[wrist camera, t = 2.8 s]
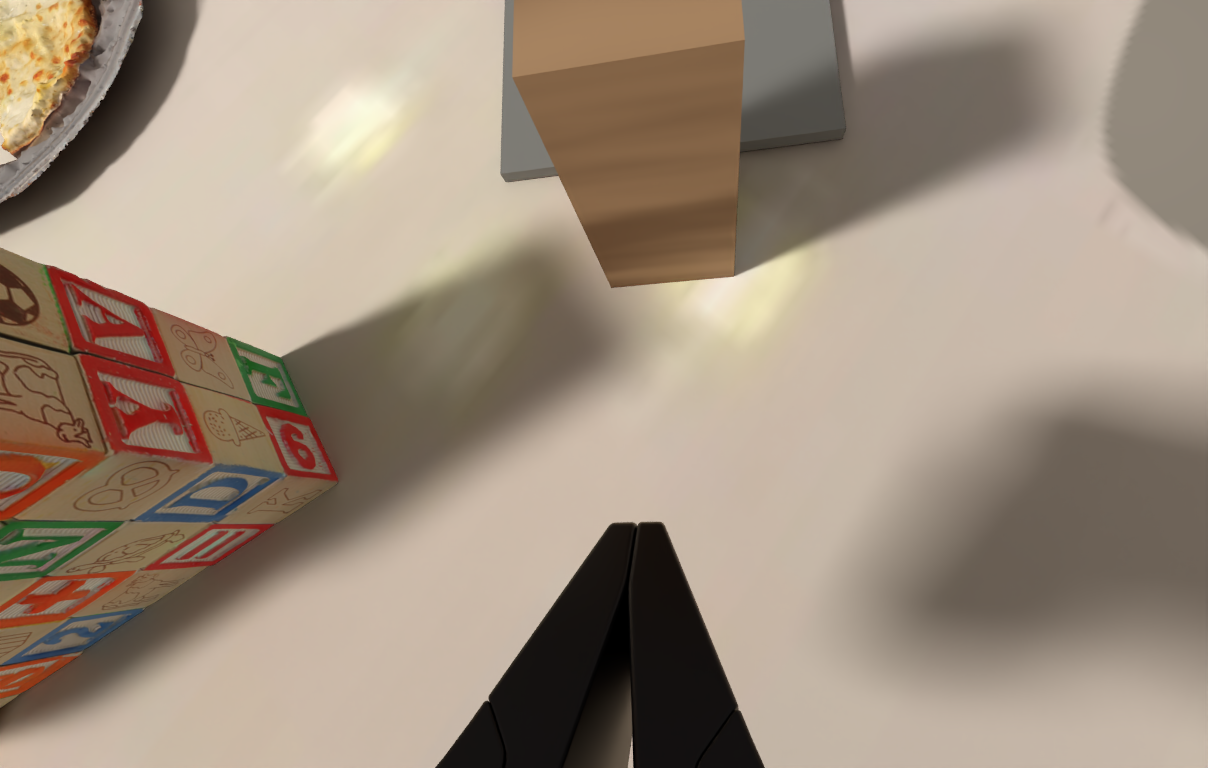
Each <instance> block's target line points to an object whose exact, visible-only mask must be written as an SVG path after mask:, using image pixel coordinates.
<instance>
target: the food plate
mask: <svg viewBox="0 0 1208 768" xmlns="http://www.w3.org/2000/svg"><path fill="white" fill-rule="evenodd" d="M142 3H143V2H142V0H0V124H1V128H0V131H1V134H2V136H3V138H4V143H3V144H2V145H1V146H2V148H3V149H4V150H7V151H8V152H10V153H11V154H12V155H13V156H14V157H16V158H17V160H14V161H12V162H8V163H6V164H2V165H0V203H1V202H3V201H4V200H7V199H8V198H11V197H12V196H16V195H17V194H18V195H19V192H22V191H23V190H25V189H26V188H28V186H29V185H30V184H32V182H33V181H34V180H36V179H37V177H40V176H41V175H42V173H43V171H45V170H46V169H47V168H49V166H50V164H49V163H50V162H51V161H53V159H55V158H56V157H58V156H59V154H58V153H59V152H60V151H62V150H63V149H65V147H64V146H65V144H66V145H68V144H67V143H68V142H69V141H72V140H73V139H74V138H75V137H76V136H75V135H78V131H79V130H81V129H82V127H83V126H84V125H86V124H87V123H86V122H88V117H90V116H92V112H94V110H95V108H97V107H98V106H99V105H100V100H103V99H104V97H105V95H106V91H109V90H108V88H109V87H111V86H110V84H112V82H113V80H114V78H115V77H116V75H117V74H118V70H119V69H120V67H121V64H122V62H123V59H124V58H125V56H126V54H127V52H128V50H129V47H130V45H131V43H132V42H133V39H134V33H135V32H136V28H137V27H138V25H139V22H140V20H141V18H142V16H143V12H141V11H144V10H143V9H144V7H143V4H142ZM126 51H127V52H126ZM121 61H122V62H121Z"/></svg>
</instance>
